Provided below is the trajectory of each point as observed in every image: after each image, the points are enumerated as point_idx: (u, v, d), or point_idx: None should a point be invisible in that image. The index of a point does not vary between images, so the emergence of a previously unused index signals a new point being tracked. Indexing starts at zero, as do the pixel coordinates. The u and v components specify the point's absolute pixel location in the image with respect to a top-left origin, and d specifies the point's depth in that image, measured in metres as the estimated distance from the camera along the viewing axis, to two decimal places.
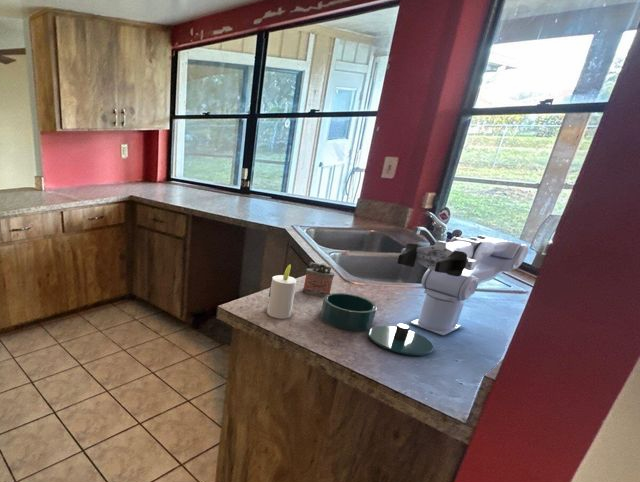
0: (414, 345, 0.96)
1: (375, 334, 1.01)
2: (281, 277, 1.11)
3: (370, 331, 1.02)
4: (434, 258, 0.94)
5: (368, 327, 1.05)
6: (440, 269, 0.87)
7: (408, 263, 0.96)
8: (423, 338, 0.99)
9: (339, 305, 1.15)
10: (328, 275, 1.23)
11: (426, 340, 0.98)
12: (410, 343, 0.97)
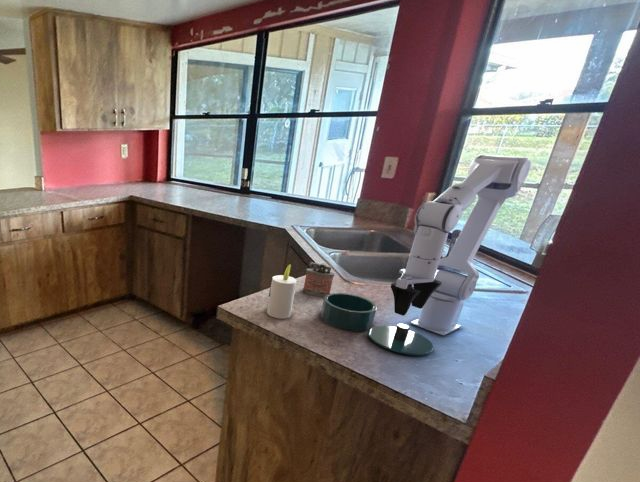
0: (414, 345, 0.96)
1: (375, 334, 1.01)
2: (281, 277, 1.11)
3: (370, 331, 1.02)
4: None
5: (368, 327, 1.05)
6: (401, 312, 0.94)
7: (428, 293, 0.95)
8: (423, 338, 0.99)
9: (339, 305, 1.15)
10: (328, 275, 1.23)
11: (426, 340, 0.98)
12: (410, 343, 0.97)
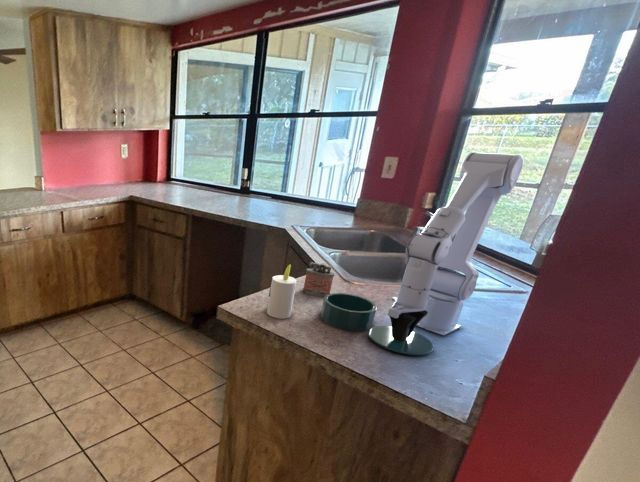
0: (414, 345, 0.96)
1: (375, 334, 1.01)
2: (281, 277, 1.11)
3: (370, 331, 1.02)
4: None
5: (368, 327, 1.05)
6: (398, 337, 0.97)
7: (414, 322, 0.97)
8: (423, 338, 0.99)
9: (339, 305, 1.15)
10: (328, 275, 1.23)
11: (426, 340, 0.98)
12: (410, 343, 0.97)
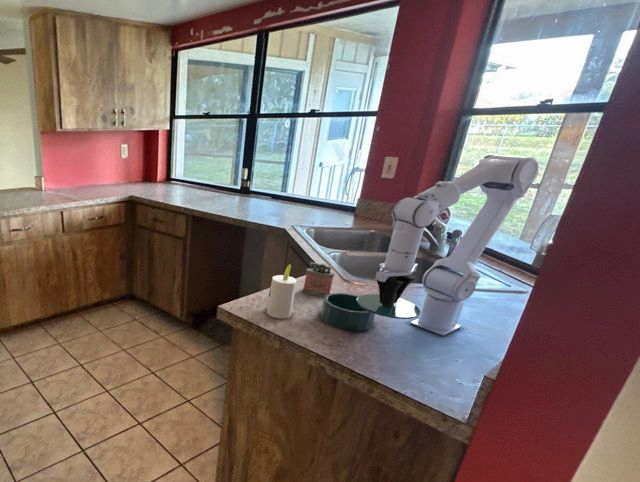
0: (401, 310, 0.97)
1: (363, 301, 1.02)
2: (281, 277, 1.11)
3: (358, 298, 1.03)
4: None
5: (368, 327, 1.05)
6: (386, 302, 0.98)
7: (402, 288, 0.98)
8: (410, 304, 1.00)
9: (339, 305, 1.15)
10: (328, 275, 1.23)
11: (413, 306, 0.99)
12: (397, 308, 0.98)
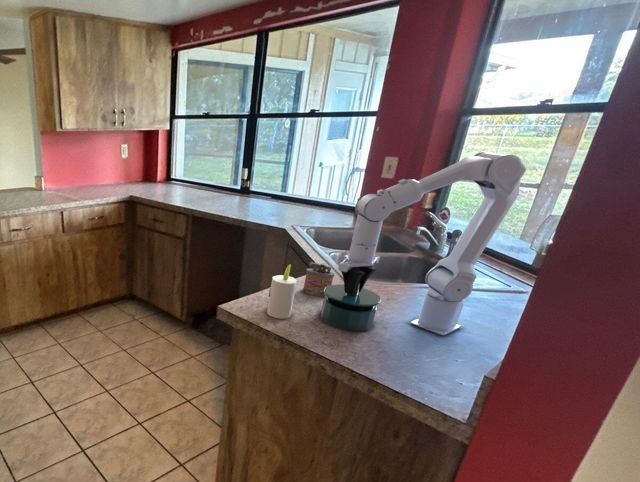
0: (363, 298, 1.05)
1: (330, 290, 1.10)
2: (281, 277, 1.11)
3: (326, 288, 1.11)
4: None
5: (368, 327, 1.05)
6: (350, 291, 1.06)
7: (364, 278, 1.05)
8: (373, 293, 1.08)
9: (339, 305, 1.15)
10: (328, 275, 1.23)
11: (376, 295, 1.07)
12: (360, 297, 1.06)
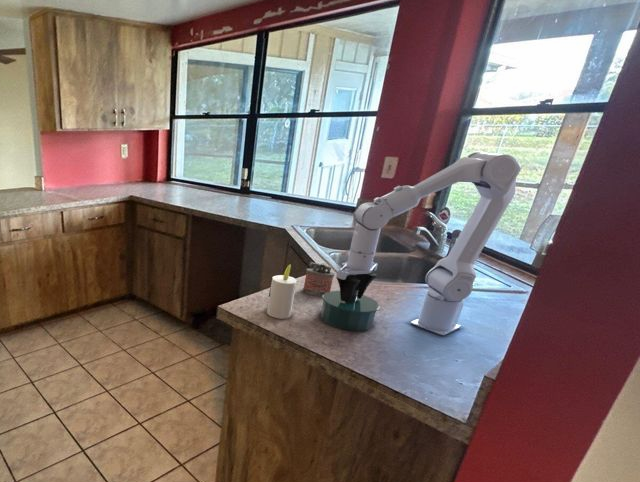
0: (362, 305, 1.06)
1: (328, 297, 1.10)
2: (281, 277, 1.11)
3: (324, 295, 1.12)
4: None
5: (368, 327, 1.05)
6: (346, 299, 1.06)
7: (365, 284, 1.07)
8: (372, 300, 1.09)
9: None
10: (328, 275, 1.23)
11: (374, 302, 1.08)
12: (359, 304, 1.06)
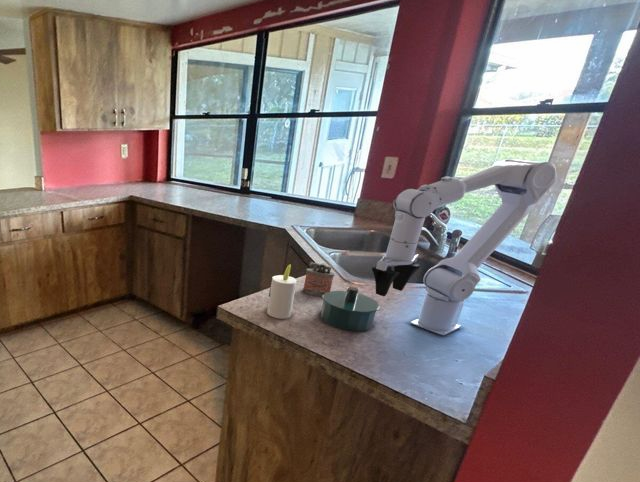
0: (362, 305, 1.06)
1: (328, 297, 1.10)
2: (281, 277, 1.11)
3: (324, 295, 1.12)
4: (396, 264, 1.00)
5: (368, 327, 1.05)
6: (382, 293, 1.00)
7: (407, 276, 1.02)
8: (372, 300, 1.09)
9: None
10: (328, 275, 1.23)
11: (374, 302, 1.08)
12: (359, 304, 1.06)
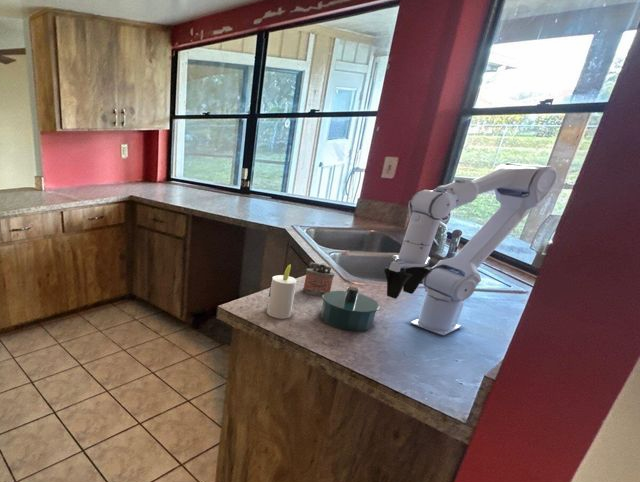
0: (362, 305, 1.06)
1: (328, 297, 1.10)
2: (281, 277, 1.11)
3: (324, 295, 1.12)
4: (408, 267, 0.98)
5: (368, 327, 1.05)
6: (393, 295, 0.98)
7: (419, 279, 1.00)
8: (372, 300, 1.09)
9: None
10: (328, 275, 1.23)
11: (374, 302, 1.08)
12: (359, 304, 1.06)
